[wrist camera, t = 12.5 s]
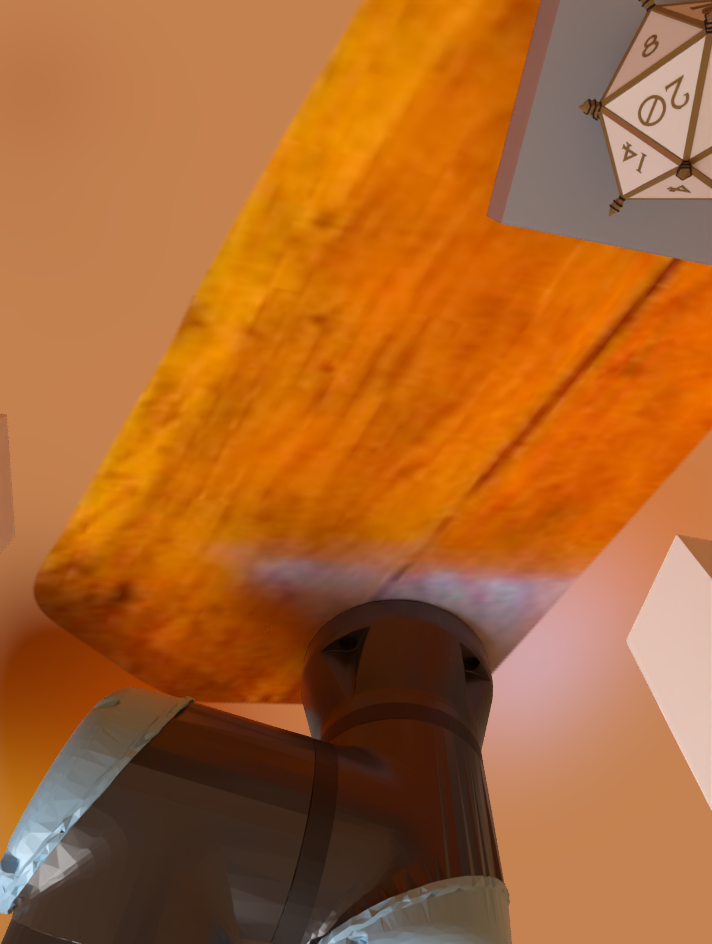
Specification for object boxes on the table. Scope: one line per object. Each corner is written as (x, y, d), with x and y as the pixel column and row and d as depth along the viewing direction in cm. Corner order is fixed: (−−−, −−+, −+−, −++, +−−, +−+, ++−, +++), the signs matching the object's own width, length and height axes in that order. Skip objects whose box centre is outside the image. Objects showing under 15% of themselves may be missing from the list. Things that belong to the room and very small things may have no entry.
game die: (617, 160, 34) (589, 289, 29) (574, -11, 28) (531, 114, 24) (826, 98, 29) (833, 243, 24) (824, -127, 23) (833, 4, 18)
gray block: (687, 255, 37) (729, 268, 33) (486, 215, 36) (501, 223, 32) (784, 8, 32) (850, -17, 27) (551, -43, 31) (580, -77, 27)
